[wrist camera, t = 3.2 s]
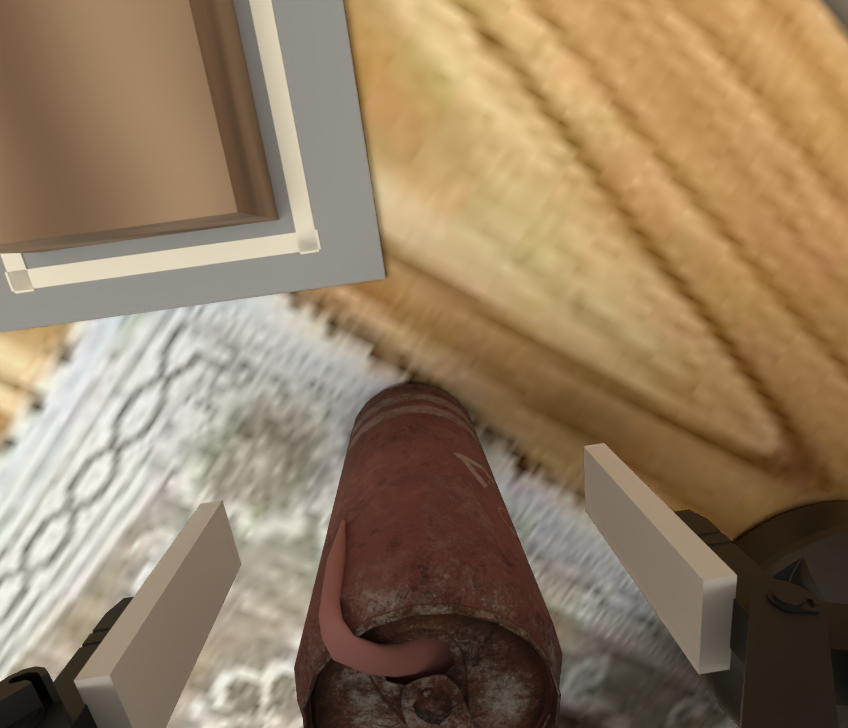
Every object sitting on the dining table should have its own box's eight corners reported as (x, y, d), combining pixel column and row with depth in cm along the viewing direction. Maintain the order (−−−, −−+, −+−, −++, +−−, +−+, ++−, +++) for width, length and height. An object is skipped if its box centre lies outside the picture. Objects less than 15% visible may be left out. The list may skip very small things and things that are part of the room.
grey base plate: (317, -169, 16) (312, -197, 15) (385, 276, 21) (385, 278, 20) (-187, -108, 16) (-229, -132, 15) (-11, 332, 20) (-33, 337, 19)
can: (395, 353, 22) (389, 540, 8) (496, 424, 23) (638, 690, 9) (323, 447, 23) (214, 751, 9) (424, 511, 24) (458, 860, 10)
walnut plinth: (217, -73, 16) (140, -207, 11) (278, 219, 19) (238, 212, 14) (-66, -38, 16) (-267, -158, 11) (37, 252, 19) (-89, 256, 14)
